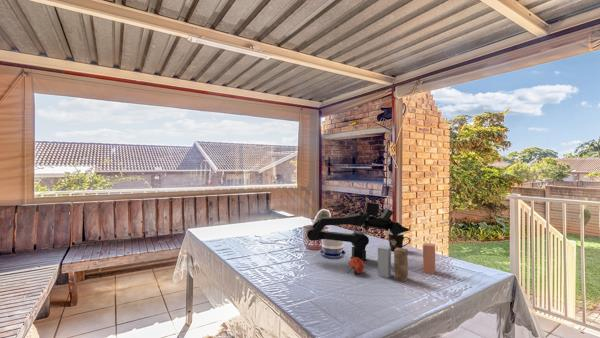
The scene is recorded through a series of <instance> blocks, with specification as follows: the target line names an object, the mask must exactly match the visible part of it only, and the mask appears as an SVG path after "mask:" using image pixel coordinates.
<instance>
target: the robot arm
mask: <svg viewBox="0 0 600 338" xmlns="http://www.w3.org/2000/svg"><path fill="white" fill-rule="evenodd" d="M380 205H381V204H380V203H378V202H373V201H366V203H365V210H363V211H361V212H359V213H353V214H349V215H346V216H331V217H330V216H329V217H328V216H327V217H324V216H322V217H320V218H319V219H318V220H317V221H316V222H315V223H314V224H312V226H310V227H308V228H307V229H306V237H307V239H308V240H309V241H316V242H317V241H321V240H330V241H337V242H347V243H351V246H352V247H351V256H350V260H351V259H352V258H353V257H357V258H360V259H363V258H364V259H363V262H366V261H368V259H367V250H366V248H367V245H369V242H370V239H369V237H368V236H367V235H366V234H365V232H362V231H361V230H360V231H357V230H353V232H352V233H346V232H338V231H329V230H328V231H327V230H323V229H324V228H325V226H338V225H341V226H343V225H349V226H356V227H362V228H363V230H365V231H368V228H370V229H372V228H373V229H377V230H379V231H380V230H384V231H386V232H390V233H391V234H393V235H398V234H400V233H406V232H409V231H410V229H409V228H408V227H405V226H402V225H403V224H400V222H398V221H394V220H393V221H392V219H391V217H392V215H394V211H393V210H391V209H389V208H387V207H385V208H381V209H380ZM379 211H380V212H379ZM379 213H381V216H377V215H379Z"/></svg>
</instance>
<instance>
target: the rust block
mask: <svg viewBox="0 0 600 338" xmlns="http://www.w3.org/2000/svg"><path fill="white" fill-rule="evenodd" d="M422 270H423V271H422V273H425V274H432V275H435V272H436V244H435V243H430V242H423V244H422Z"/></svg>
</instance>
